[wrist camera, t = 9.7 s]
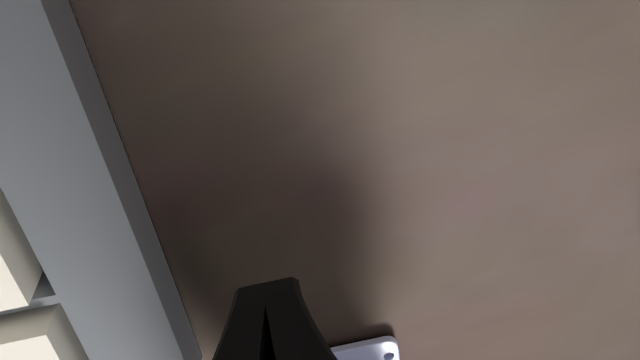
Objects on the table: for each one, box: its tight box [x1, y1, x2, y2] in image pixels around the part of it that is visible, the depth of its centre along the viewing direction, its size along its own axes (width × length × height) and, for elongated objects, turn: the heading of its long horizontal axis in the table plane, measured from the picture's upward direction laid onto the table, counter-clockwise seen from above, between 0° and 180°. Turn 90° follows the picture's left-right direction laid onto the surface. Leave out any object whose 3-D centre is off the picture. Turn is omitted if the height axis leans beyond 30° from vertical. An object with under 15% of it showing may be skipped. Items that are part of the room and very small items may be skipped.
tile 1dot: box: [0, 303, 89, 360], centre depth 25 cm, size 4×6×4 cm, turn 99°
